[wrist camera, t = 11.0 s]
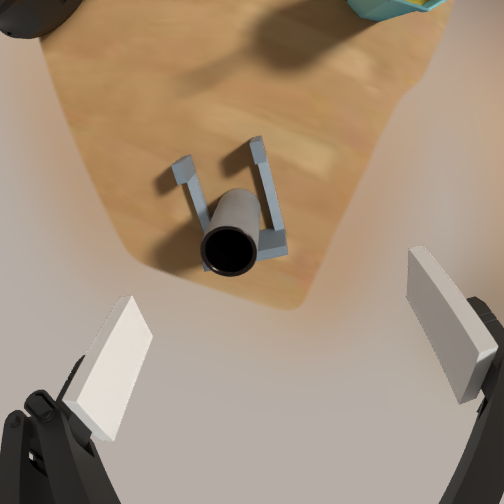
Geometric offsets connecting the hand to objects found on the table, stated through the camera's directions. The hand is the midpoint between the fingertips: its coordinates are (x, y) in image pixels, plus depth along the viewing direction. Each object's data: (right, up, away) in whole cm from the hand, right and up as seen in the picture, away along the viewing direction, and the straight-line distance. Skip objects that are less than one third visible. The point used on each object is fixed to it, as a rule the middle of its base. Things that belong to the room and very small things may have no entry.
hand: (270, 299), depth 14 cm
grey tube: (-2, +7, +20) cm, 21 cm away
